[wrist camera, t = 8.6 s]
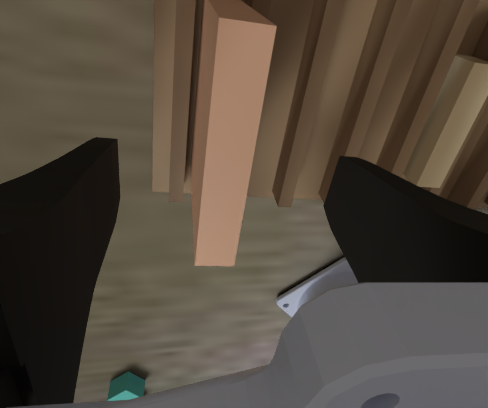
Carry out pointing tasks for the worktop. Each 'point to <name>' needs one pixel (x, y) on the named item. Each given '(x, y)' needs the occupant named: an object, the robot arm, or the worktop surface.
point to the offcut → (449, 121)
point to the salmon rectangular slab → (226, 123)
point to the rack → (328, 92)
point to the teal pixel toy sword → (126, 387)
